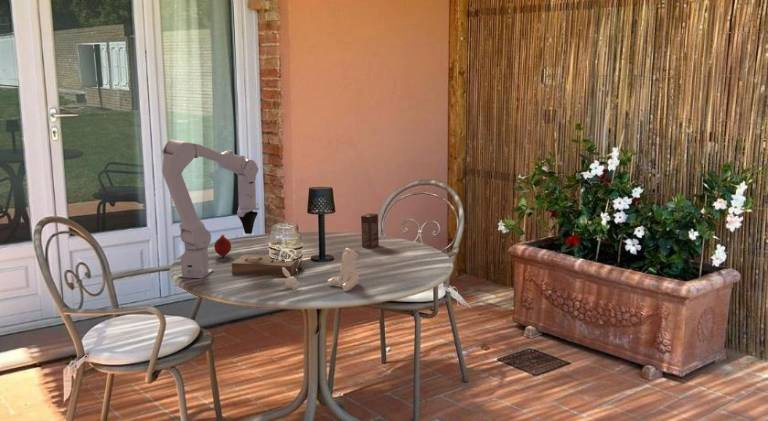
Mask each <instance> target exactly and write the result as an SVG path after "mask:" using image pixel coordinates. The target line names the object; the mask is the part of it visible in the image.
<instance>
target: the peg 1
mask: <svg viewBox="0 0 768 421" xmlns="http://www.w3.org/2000/svg"><path fill="white" fill-rule="evenodd" d="M247 260H248V261H252V262H259V261H260V258H257V257H252V258H248V259H247Z"/></svg>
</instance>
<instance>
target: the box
mask: <svg viewBox="0 0 768 421" xmlns="http://www.w3.org/2000/svg"><path fill="white" fill-rule="evenodd" d="M360 218H361V221H360V222H361V247H362V248H364V249H365V248H366V249H372V248H374V247H377V246H379V245H380V244H379V243H380V242H379V238H380V237H379V214H378V213H366V214H364V215H361V216H360Z"/></svg>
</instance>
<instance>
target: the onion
mask: <svg viewBox="0 0 768 421" xmlns="http://www.w3.org/2000/svg"><path fill="white" fill-rule="evenodd" d="M214 250H215V252H216V254H217V255H219V256H220V257H221V258H222V257H226V255H228V254H230V252H231V250H232V244H231V242H230V240H229V239H228V238H227V237H225V234H221V236H220V237H219V238H218V239H216V241H215V242H214Z"/></svg>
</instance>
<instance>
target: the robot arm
mask: <svg viewBox="0 0 768 421" xmlns="http://www.w3.org/2000/svg"><path fill="white" fill-rule="evenodd" d="M161 153H162V155H163V160H162V175H163V178H164V181H165V183H166V186H167V189H168V191H169V193H170V196H171V199H172V201H173V203H174V207H175V210H176V211H177V213H178V217H179V219H180V221H181V222H180V224H179V229H180V230H179V231H180V239H181V241H182V243H184V252H183V254H182V255H181V258H180V266H181V267H180V268H181V274H179V275H178V277H179V278H191V279H203V278H204V277H206V276H208V275H209V274H211V273H212V272H213V271H214V269H213V268H209V252H208V248H209V245H210V243H211V241H212V235H211V232H210V231H209V230H208V229H207V228H206V226H205V224H204V222H202V220H200V218H199V217H198V214H197V211H196V209H195V206H194V204H193V201H192V198H191V195H190V193H189V190H188V188H187V185H186V182H185V180H184V177H183V174H182V173H183V172H184V170H185V169H186V168H187V166H188V165H189V164H190V163H191V162H192V161H193V160H194V159H198V158H199V157H201V158H204V159H207V160H210V161H213V162H216V163H217V165H218V167H219V168H221V169H223V170H227V171H230V172H232V173H234V174H236V175H237V187H238V189H237V190H238V207H237V208H238V210H237V211H236V215H237V217H238V219H239V220H240V222H241V225H242V229H243V232H244V233H245V234H247V235H251V234H252V233H253V230H254V224H255V221H256V218H257V216H258V210H260V206H258V205H259V204H258V203H257V198H256V196H257V194H256V180H257V178H256V176H257V174H258V172H259V169H260V168H259V166H258V164H257V163H256V161H255V160H253V159H249V158H246V157H245V156H244V155H238V154H235V153H234V151H233V150H224V151H222V152H219V151H216V150H214V149H211V148H210V147H208V146H204V145H202V144H199V143H198V144H197V143H193V142H192V143H191V142H190V141H183V140H182V141H181V140H177V139H170V140H169V141H168V142H166V144H165V145H164V147H163V149H162V150H161Z"/></svg>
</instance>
